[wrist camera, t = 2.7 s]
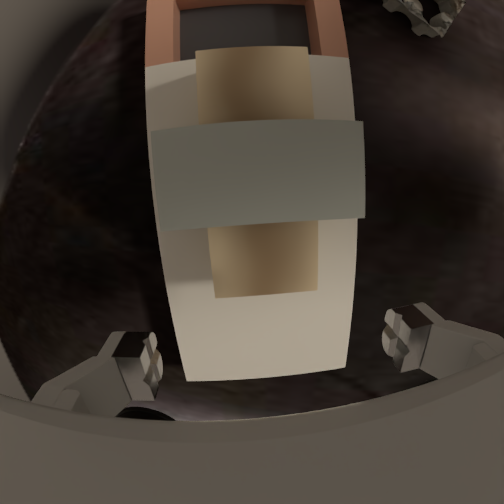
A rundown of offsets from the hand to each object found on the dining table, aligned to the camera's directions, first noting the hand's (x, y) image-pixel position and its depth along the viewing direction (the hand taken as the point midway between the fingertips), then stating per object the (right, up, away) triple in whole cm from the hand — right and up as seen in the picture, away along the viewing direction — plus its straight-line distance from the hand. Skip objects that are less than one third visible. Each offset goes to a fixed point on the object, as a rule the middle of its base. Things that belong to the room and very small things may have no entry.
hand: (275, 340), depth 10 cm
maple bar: (-1, +8, +9) cm, 12 cm away
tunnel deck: (-1, +8, +12) cm, 15 cm away
